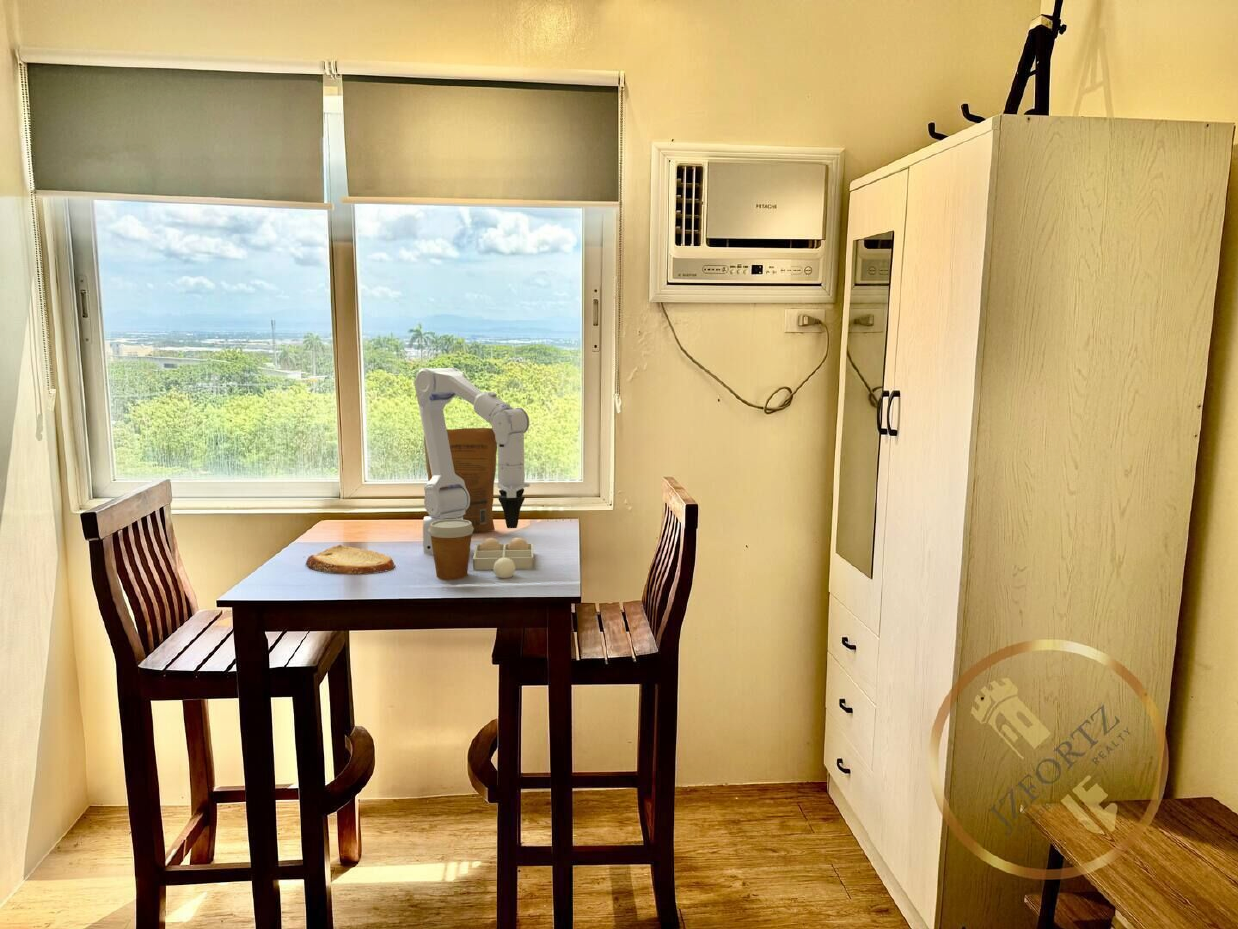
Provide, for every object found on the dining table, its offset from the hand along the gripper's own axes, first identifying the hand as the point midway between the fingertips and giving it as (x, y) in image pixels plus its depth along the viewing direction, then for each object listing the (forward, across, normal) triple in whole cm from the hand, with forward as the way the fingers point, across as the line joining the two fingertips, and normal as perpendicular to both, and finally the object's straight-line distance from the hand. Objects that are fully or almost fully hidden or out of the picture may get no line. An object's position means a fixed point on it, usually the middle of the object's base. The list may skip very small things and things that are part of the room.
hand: (512, 524), depth 178 cm
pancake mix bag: (+10, +38, +13) cm, 41 cm away
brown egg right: (+9, +7, -1) cm, 12 cm away
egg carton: (+10, +4, +2) cm, 11 cm away
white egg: (+10, -8, +2) cm, 13 cm away
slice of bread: (+10, +6, +36) cm, 38 cm away
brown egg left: (+9, +7, +5) cm, 13 cm away
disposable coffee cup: (+10, -7, +13) cm, 18 cm away
